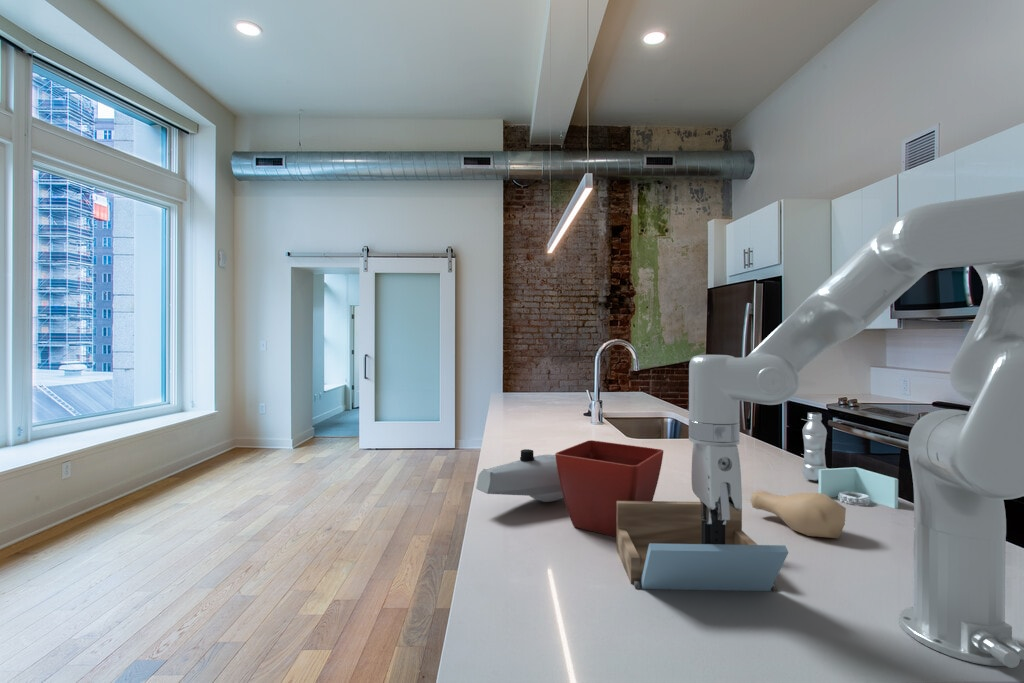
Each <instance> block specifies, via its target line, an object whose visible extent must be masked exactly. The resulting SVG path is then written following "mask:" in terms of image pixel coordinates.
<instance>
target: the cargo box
mask: <svg viewBox="0 0 1024 683" xmlns="http://www.w3.org/2000/svg"><path fill="white" fill-rule="evenodd" d="M729 512H730V520H729V521H727V520H726V525H725V545H758V544H757V542H755V541H754V540H753V539H752V538H751V537H750V536H749V535H748V534H746V532H744V531H743V507H742V508H741V509H740V510H735V509H734V508H733V507H732V506H730V505H729ZM701 520H705V519H702V518H701V502H700V501H671V500H669V501H665V500H664V501H663V500H661V501H659V500H656V501H655V500H652V501H617V505H616V537H615V538H616V539H615V540H616V545H615V547H616V552H617V554H618V557H619V559H620V562H621V563H622V566H623V568H624V571H625V573H626V575H627V576H626V577H627V578H628V581H629V583H630V585H633V586H634V589H635V590H641V579H642V574H643V569H644V565H645V560H646V556H647V551H648V547H649V543H655V544H702V543H701ZM770 591H772V592H778V589H777V585H776V584H775V582H774V583H773V586H772V588H771V590H770Z"/></svg>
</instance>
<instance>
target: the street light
mask: <svg viewBox="0 0 1024 683" xmlns="http://www.w3.org/2000/svg"><path fill="white" fill-rule="evenodd" d="M476 482H477V483H476V486H475V487H476V490H478V491H479V492H483V493H485V494H487V495H501V496H502V495H505V496H506V495H507V496H526V497H527V496H529V497H530V498H533V499H534V500H537V501H539V502H543V503H549V502H556V501H559V500H561V499H564V497H563V493H562V489H561V485H560V481H559V476H558V470H557V464H556V456H555V454H540V455H535V456H534V450H532V449H527V448H526V449H525V448H524V449H521V450H520V457H519V460H515V461H512V462H507V463H504V464H500V465H497V466H493V467H490V468H487V469H486V468H483V469H482V470H481V471H480V472H479V474H478V476H477V481H476Z"/></svg>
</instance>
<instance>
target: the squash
mask: <svg viewBox="0 0 1024 683" xmlns="http://www.w3.org/2000/svg"><path fill="white" fill-rule="evenodd" d="M749 501H750V503H751V506H752V508H754V509H756V510H762V511H765V512H768V513H771V514H773V515H775V516H777V517H778V518H780V519H781V520H782V521H783V522H784V523H785V524H786V526H788V527H789V528H790V529H791V530H793V531H796V532H798V533H801V534H802V535H805V536H808V537H814V538H815V537H818V538H828V539H840V537H841V534H842V532H843V529H844V528H845V525H846V509H847V508H846V507H845V506H843V505H841V503H839V502H837V501H836V500H834V499H833V498H832V497H829V496H827V495H826V494H821V493H818V492H801V493H800V492H799V493H793V494H789V495H778V494H772V493H770V492H767V491H764V490H759V489H758V490H756V491H753V492H752V494H751V496H750V500H749Z"/></svg>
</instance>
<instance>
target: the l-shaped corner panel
mask: <svg viewBox="0 0 1024 683" xmlns="http://www.w3.org/2000/svg"><path fill="white" fill-rule="evenodd" d="M817 493H821V494H826V495H827V496H829V497H830V498H837V500H838V501H839V502H840V501H841V502H840V503H843V502H845V503H847V504H846V505H853V506H855V507H857V506H858V507H864V506H866V507H868V505H869V506H870V503H871V502H873V503H874V502H875V503H876V504H879V505H883V506H886V507H889V508H892V509H899V479H898V478H896V477H892V476H888V475H884V474H883V473H882V474H881V473H878V472H874V471H871V470H867V469H865V468H860V467H856V466H853V467H838V468H836V467H835V468H827V469H819V481H818V492H817ZM836 496H838V497H836ZM870 501H871V502H870ZM845 503H844V504H845Z"/></svg>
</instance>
